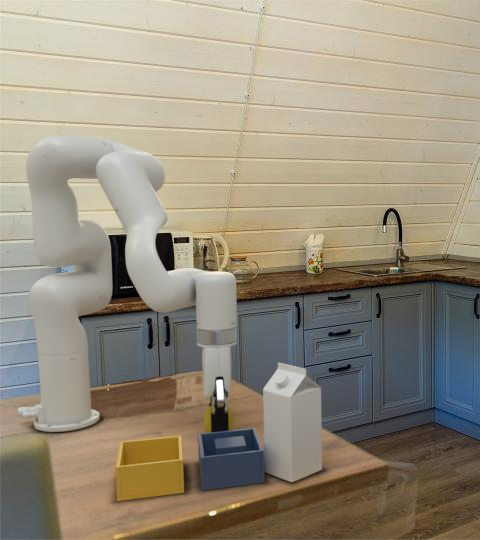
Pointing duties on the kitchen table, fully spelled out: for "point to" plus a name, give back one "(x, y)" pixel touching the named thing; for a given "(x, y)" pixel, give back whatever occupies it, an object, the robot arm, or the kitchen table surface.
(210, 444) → the blue bin
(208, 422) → the lemon
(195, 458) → the kitchen table surface
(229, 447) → the blue block
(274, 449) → the milk carton
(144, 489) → the yellow bin
